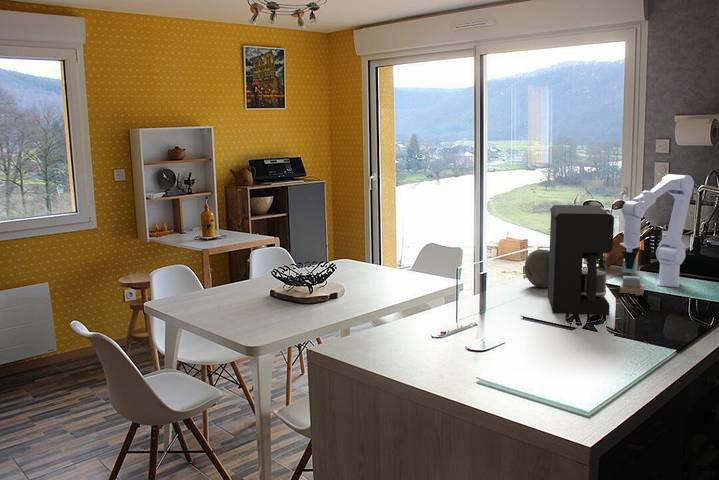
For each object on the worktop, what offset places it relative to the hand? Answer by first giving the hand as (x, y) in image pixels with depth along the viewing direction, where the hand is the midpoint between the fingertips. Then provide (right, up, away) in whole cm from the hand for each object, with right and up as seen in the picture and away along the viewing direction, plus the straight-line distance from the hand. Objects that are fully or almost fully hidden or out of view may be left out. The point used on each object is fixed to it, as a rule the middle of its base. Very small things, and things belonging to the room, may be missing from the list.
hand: (630, 267), depth 262 cm
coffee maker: (-26, -13, -19) cm, 35 cm away
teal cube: (0, -2, 0) cm, 2 cm away
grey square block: (+1, -7, 0) cm, 7 cm away
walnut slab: (+1, -10, 0) cm, 10 cm away
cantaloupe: (-31, -8, +11) cm, 34 cm away
